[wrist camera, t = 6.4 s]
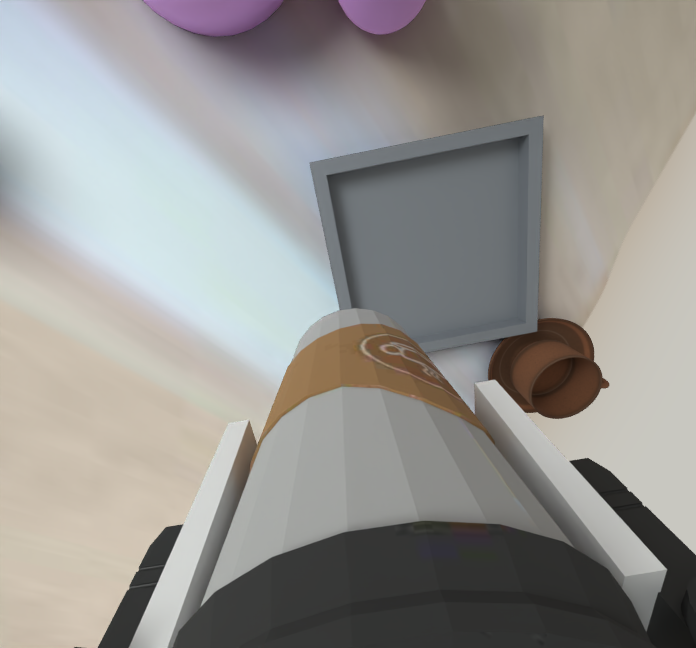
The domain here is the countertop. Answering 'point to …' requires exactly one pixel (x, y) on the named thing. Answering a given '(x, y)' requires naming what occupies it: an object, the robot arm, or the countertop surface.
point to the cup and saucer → (549, 369)
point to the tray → (439, 232)
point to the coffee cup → (394, 520)
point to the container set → (260, 3)
